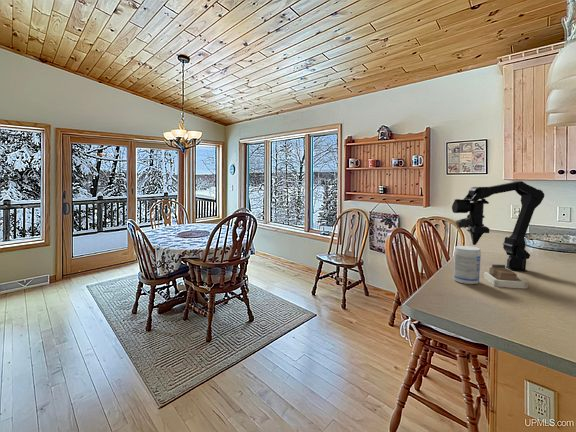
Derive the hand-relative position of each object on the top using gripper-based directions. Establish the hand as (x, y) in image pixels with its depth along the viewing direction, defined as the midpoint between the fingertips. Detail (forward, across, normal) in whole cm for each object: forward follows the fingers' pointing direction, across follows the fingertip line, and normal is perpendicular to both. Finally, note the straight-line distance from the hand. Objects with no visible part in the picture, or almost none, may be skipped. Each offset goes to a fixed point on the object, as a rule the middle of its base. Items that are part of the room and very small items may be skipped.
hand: (474, 244), depth 145 cm
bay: (+12, +20, +6) cm, 24 cm away
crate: (+12, +19, +6) cm, 23 cm away
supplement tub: (+12, +22, -9) cm, 27 cm away
